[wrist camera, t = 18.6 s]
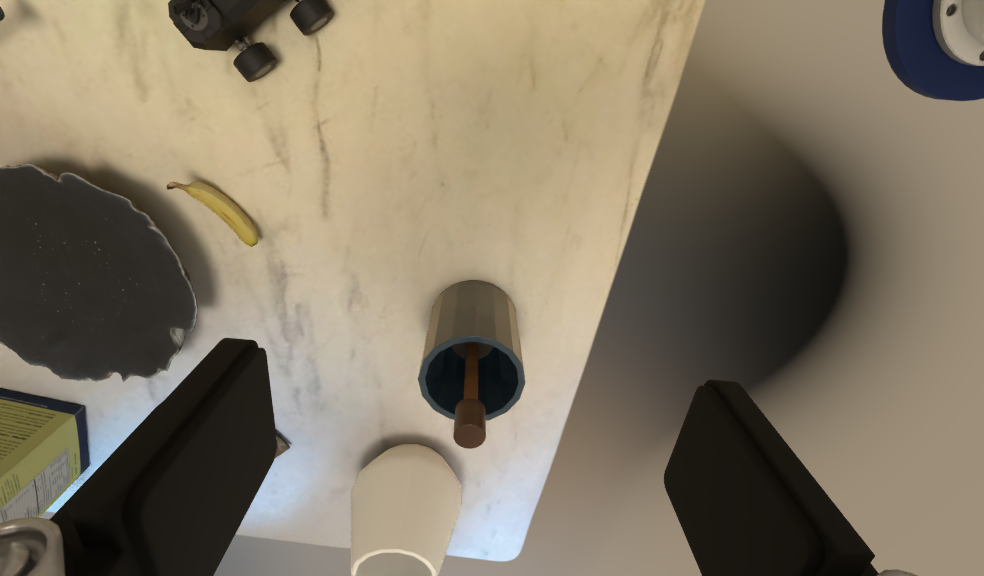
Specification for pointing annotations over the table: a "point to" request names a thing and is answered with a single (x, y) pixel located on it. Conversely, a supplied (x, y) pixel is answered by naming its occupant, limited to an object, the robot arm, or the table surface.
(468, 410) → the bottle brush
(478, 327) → the container
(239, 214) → the banana
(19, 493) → the protein box
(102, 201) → the board
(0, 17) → the massage brush
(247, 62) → the toy vehicle
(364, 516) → the cup
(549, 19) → the table surface
